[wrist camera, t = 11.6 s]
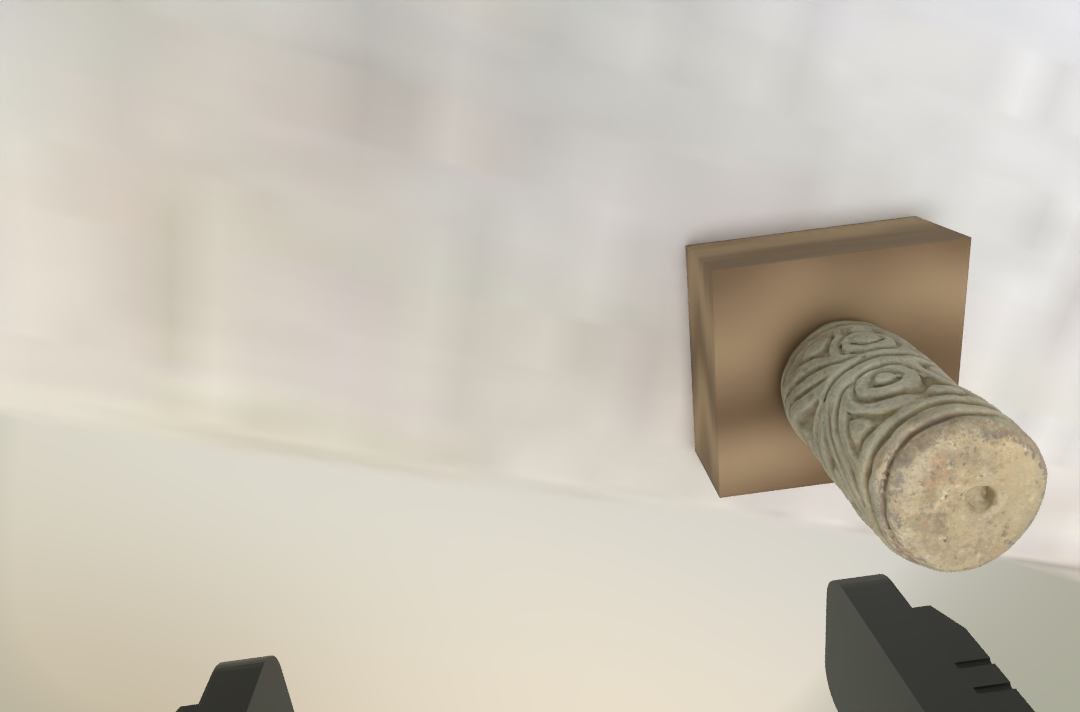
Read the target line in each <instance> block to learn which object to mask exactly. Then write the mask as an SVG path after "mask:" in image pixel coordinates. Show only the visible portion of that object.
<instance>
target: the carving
mask: <svg viewBox="0 0 1080 712" xmlns="http://www.w3.org/2000/svg"><path fill="white" fill-rule="evenodd" d="M781 395H782V401H783V405H784V409H785V413H786V416H787V418H788V420H789V422H790V424H791V426H792V428H793V430H794V431H795V432H796V434H797V435H798V436H799V438H800V439H801V440H802V441H803V442H804V443H805V444H807V445H808V446H809V448H810V450H811V451H812V453H813V455H814V456H815V457H816V458H817V459H818V460H819V461H820V463H821V464H822V466H823V468H824V470H825V471H826V473H827V474H828V476H829V477H830V478H831V479H832V480H833V481H834V482H835V483H836V485H837V486H838V487H839V488H840V489H841V490H842V492H843V493H844V495H845V496H846V498H847V499H848V500H849V501H850V503H851V504H852V506H853V508H854V509H855V511H856V512H857V514H858V515H859V516H860V518H861V519H862V520H863V521H864V522H865V523H866V524H867V525H868V526H869V527H870V528H871V529H872V530H873V531H874V532H875V534H876V535H877V536H878V537H879V538H880V539H881V540H882V541H883V543H884V544H885V545H886V546H887V547H888V548H889V549H890V550H892V551H893V552H894V553H896V554H897V555H899V556H901V557H903V558H905V559H906V560H909V561H911V562H913V563H915V564H918V565H921V566H924V567H927V568H930V569H933V570H936V571H941V572H960V571H965V570H970V569H974V568H977V567H980V566H982V565H984V564H986V563H988V562H990V561H992V560H994V559H995V558H997V557H999V556H1000V555H1001V554H1003V553H1004V552H1005V551H1007V550H1008V549H1009V548H1010V547H1011V546H1012V545H1013V544H1014V543H1015V542H1016V541H1017V540H1018V539H1019V538H1020V537H1021V536H1022V535H1023V533H1024V532H1025V531H1026V530H1027V529H1028V527H1029V526H1030V525H1031V523H1032V521H1033V520H1034V518H1035V516H1036V514H1037V512H1038V510H1039V508H1040V505H1041V503H1042V500H1043V498H1044V494H1045V489H1046V482H1047V469H1046V465H1045V462H1044V460H1043V457H1042V455H1041V453H1040V450H1039V448H1038V447H1037V445H1036V444H1035V442H1034V441H1033V440H1032V439H1031V438H1030V437H1029V436H1028V435H1027V434H1026V433H1025V432H1024V431H1023V430H1022V429H1021V428H1020V427H1019V426H1018V425H1017V424H1016V423H1015V422H1014V421H1013V420H1011V419H1010V418H1009V417H1007V416H1006V415H1004V414H1003V413H1002V412H1001V411H1000V410H998V409H997V408H996V407H995V406H993V405H991V404H989V403H988V402H987V401H986V400H984V399H983V398H981V397H979V396H977V395H976V394H974V393H972V392H970V391H968V390H966V389H964V388H962V387H960V386H958V385H956V383H955V382H954V381H953V380H952V379H951V378H950V377H949V376H948V375H947V374H946V373H945V372H944V371H943V370H942V369H941V368H939V367H938V366H937V365H936V364H935V363H934V362H933V361H931V360H930V359H929V358H928V357H927V356H925V355H924V354H923V353H921V352H920V351H918V350H917V349H916V348H915V347H913V346H912V345H911V344H910V343H909V342H907V341H906V340H904V339H903V338H901V337H899V336H898V335H896V334H894V333H892V332H890V331H887V330H884V329H882V328H880V327H877V326H875V325H873V324H870V323H867V322H862V321H847V320H843V321H835V322H830V323H828V324H825V325H823V326H822V327H820V328H818V329H817V330H816V331H814V332H813V333H811V334H810V335H809V336H808V337H807V338H806V339H804V340H803V341H802V342H801V343H800V344H799V345H798V346H797V348H796V349H795V350H794V351H793V353H792V354H791V356H790V358H789V360H788V362H787V365H786V367H785V369H784V372H783V375H782V379H781Z"/></svg>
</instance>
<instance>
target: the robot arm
mask: <svg viewBox="0 0 1080 712" xmlns="http://www.w3.org/2000/svg"><path fill="white" fill-rule="evenodd" d="M826 607H827V609H826V648H825V667H826V675H827V680H828V685H829V689H830V692H831V696H832V698H833V701H834V704H835V706H836V708H837V710H838V712H1035V711H1034V710H1033V709H1032V708H1031V707H1030V705H1029V704H1028V703H1027V702H1026V701H1025V699H1024V698H1023V697H1022V696H1021V695H1020V694H1019V692H1018V691H1017V690H1016V689H1012V687H1011V685H1010V681H1009V680H1008V679H1007V678H1006V677H1005V675H1004V674H1003V673H1002V672H1001V671H1000V669H999V668H998V667H997V666H996V665H995V664H992V663H991V661H990V658H989V656H988V655H987V654H986V653H985V651H984V650H983V649H982V648H981V647H980V645H979V644H978V643H977V642H976V641H975V639H974V638H973V637H972V636H971V635H970V633H969V632H968V631H967V630H966V629H965V628H964V627H962V626H961V625H959V624H958V623H956V622H954V621H953V620H951V619H950V618H949V617H947V616H946V615H944V614H942V613H941V612H939V611H938V610H936V609H935V608H933V607H931V606H923V607H915V608H912V607H911V606H910V605H909V603H908V602H907V601H906V599H905V598H904V597H903V595H902V594H901V593H900V592H899V590H898V589H897V588H896V586H895V585H894V584H893V582H892V581H891V580H890V579H889V578H888V577H887V576H885V575H883V574H878V575H871V576H863V577H856V578H848V579H842V580H834V581H831V582H830V583H829V585H828V588H827V606H826ZM176 712H294V710H293V706H292V703H291V700H290V696H289V693H288V689H287V686H286V683H285V680H284V676H283V673H282V670H281V666H280V664H279V662H278V660H277V658H276V657H274V656H265V657H257V658H250V659H243V660H236V661H229V662H222V663H219V664H218V665H217V666H216V667H215V669H214V671H213V673H212V675H211V677H210V679H209V682H208V684H207V686H206V688H205V691H204V693H203V695H202V698H201V700H200V702H199V704H196V705H189V706H182V707H180V708H179V709H178V710H177V711H176Z"/></svg>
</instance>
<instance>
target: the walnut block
mask: <svg viewBox="0 0 1080 712" xmlns="http://www.w3.org/2000/svg"><path fill="white" fill-rule="evenodd" d="M970 246H971V237H968V236H966V235H963V234H961V233H958V232H955V231H953V230H950V229H948V228H945V227H942V226H940V225H937V224H934V223H932V222H929V221H927V220H924V219H921V218H919V217H916V216H914V217H906V218H898V219H891V220H883V221H875V222H867V223H859V224H852V225H844V226H836V227H828V228H820V229H813V230H805V231H797V232H789V233H781V234H774V235H766V236H758V237H750V238H742V239H734V240H727V241H719V242H711V243H703V244H695V245H688V246H686V260H687V282H688V303H689V324H690V345H691V367H692V388H693V409H694V430H695V451H696V453H697V455H698V457H699V459H700V461H701V463H702V465H703V467H704V469H705V470H706V472H707V474H708V476H709V478H710V480H711V482H712V484H713V486H714V488H715V490H716V491H717V493H718V495H719V497H720V498H722V497H729V496H737V495H744V494H752V493H759V492H767V491H774V490H781V489H789V488H796V487H804V486H811V485H819V484H826V483H834V481H833V480H832V479H831V478H830V477H829V476H828V474H827V473H826V471H825V470H824V468H823V466H822V464H821V463H820V461H819V460H818V459H817V458H816V457H815V456H814V455H813V453H812V451H811V450H810V448H809V446H808V445H807V444H805V443H804V442H803V441H802V440H801V439H800V438H799V436H798V435H797V434H796V432H795V431H794V430H793V428H792V426H791V424H790V422H789V420H788V418H787V416H786V413H785V409H784V405H783V401H782V395H781V379H782V375H783V372H784V369H785V367H786V365H787V362H788V360H789V358H790V356H791V354H792V353H793V351H794V350H795V349H796V348H797V346H798V345H799V344H800V343H801V342H802V341H803V340H804V339H806V338H807V337H808V336H809V335H810V334H811V333H813V332H814V331H816V330H817V329H818V328H820V327H822V326H823V325H825V324H828V323H830V322H835V321H843V320H847V321H862V322H867V323H870V324H873V325H875V326H877V327H880V328H882V329H884V330H887V331H890V332H892V333H894V334H896V335H898V336H899V337H901V338H903V339H904V340H906V341H907V342H909V343H910V344H911V345H912V346H913V347H915V348H916V349H917V350H918V351H920V352H921V353H923V354H924V355H925V356H927V357H928V358H929V359H930V360H931V361H933V362H934V363H935V364H936V365H937V366H938V367H939V368H941V369H942V370H943V371H944V372H945V373H946V374H947V375H948V376H949V377H950V378H951V379H952V380H953V381H954V382H955V383H956V385H958V382H959V370H960V359H961V348H962V336H963V325H964V314H965V303H966V291H967V280H968V269H969V257H970Z"/></svg>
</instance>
